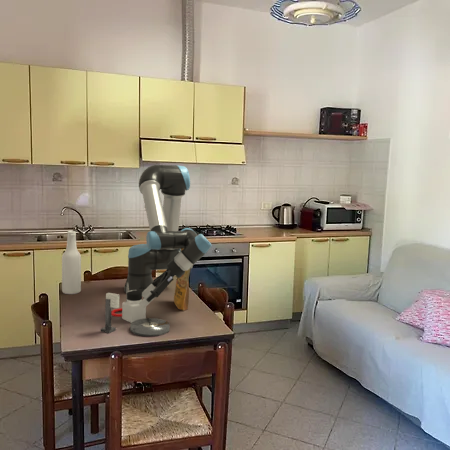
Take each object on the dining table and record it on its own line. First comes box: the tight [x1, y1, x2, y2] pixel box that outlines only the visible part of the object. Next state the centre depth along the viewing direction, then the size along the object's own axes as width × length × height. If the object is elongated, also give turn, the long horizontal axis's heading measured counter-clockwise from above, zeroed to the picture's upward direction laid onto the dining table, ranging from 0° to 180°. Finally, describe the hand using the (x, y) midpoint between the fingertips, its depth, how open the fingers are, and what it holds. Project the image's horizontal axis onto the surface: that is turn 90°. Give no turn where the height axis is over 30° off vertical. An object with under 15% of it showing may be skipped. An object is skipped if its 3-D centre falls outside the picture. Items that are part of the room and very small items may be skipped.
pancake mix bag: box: [173, 249, 192, 311], centre depth 213 cm, size 7×19×28 cm, turn 17°
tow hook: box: [111, 283, 129, 318], centre depth 199 cm, size 8×13×9 cm
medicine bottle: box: [121, 290, 147, 324], centre depth 192 cm, size 7×7×12 cm
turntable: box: [129, 317, 171, 337], centre depth 182 cm, size 15×15×2 cm
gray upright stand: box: [100, 292, 120, 334], centre depth 177 cm, size 4×6×14 cm, turn 67°
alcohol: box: [61, 230, 82, 295], centre depth 227 cm, size 9×9×30 cm
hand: (141, 301), depth 191 cm, fingers open, 13 cm apart
